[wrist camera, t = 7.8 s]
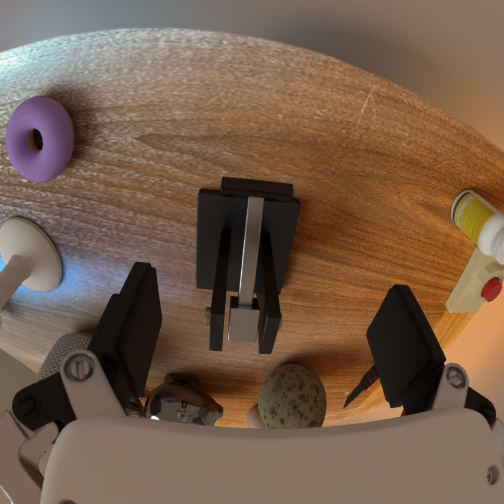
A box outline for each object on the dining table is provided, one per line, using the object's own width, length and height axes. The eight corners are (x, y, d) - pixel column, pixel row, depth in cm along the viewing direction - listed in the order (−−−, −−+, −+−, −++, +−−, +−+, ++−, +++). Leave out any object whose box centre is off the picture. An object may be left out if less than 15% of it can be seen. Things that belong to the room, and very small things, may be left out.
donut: (94, 114, 22) (65, 133, 19) (73, 179, 28) (49, 203, 24) (33, 79, 19) (2, 93, 15) (20, 143, 24) (-6, 163, 21)
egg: (258, 399, 52) (259, 428, 46) (275, 405, 54) (277, 433, 48) (241, 406, 54) (241, 434, 48) (258, 412, 56) (259, 439, 51)
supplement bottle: (445, 226, 30) (487, 272, 22) (453, 188, 27) (503, 229, 19) (472, 224, 30) (513, 266, 22) (480, 188, 27) (528, 226, 19)
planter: (49, 311, 38) (18, 371, 27) (118, 322, 39) (92, 395, 28) (77, 359, 46) (57, 413, 35) (138, 371, 46) (124, 432, 36)
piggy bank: (222, 400, 52) (221, 450, 43) (150, 391, 51) (141, 440, 41) (226, 373, 46) (224, 433, 37) (141, 362, 45) (128, 419, 35)
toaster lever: (223, 176, 21) (221, 176, 18) (289, 183, 21) (295, 184, 19) (211, 324, 24) (209, 338, 21) (270, 328, 24) (273, 343, 22)
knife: (342, 398, 54) (345, 410, 52) (339, 398, 54) (341, 410, 52) (384, 354, 45) (389, 367, 43) (380, 354, 45) (385, 367, 42)
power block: (482, 232, 31) (498, 247, 28) (507, 238, 32) (521, 252, 28) (444, 304, 39) (454, 321, 35) (471, 303, 39) (481, 318, 36)
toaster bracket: (199, 188, 28) (171, 267, 17) (298, 198, 28) (329, 279, 18) (197, 281, 34) (181, 371, 24) (279, 288, 35) (290, 377, 25)
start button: (488, 276, 31) (494, 283, 29) (499, 277, 31) (505, 284, 30) (477, 294, 33) (483, 302, 31) (489, 294, 33) (494, 301, 32)
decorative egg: (272, 388, 50) (277, 460, 37) (245, 362, 44) (246, 447, 32) (326, 372, 47) (340, 446, 35) (308, 342, 41) (323, 432, 29)
